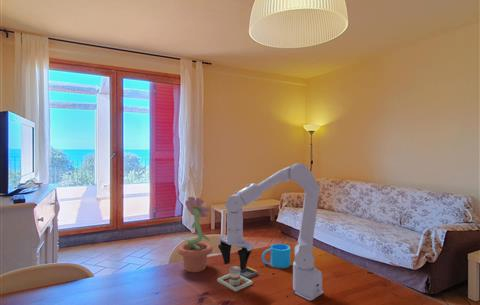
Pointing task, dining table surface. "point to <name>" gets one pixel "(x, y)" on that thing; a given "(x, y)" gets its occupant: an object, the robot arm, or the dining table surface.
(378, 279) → the dining table surface
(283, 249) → the mug
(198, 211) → the decorative flower
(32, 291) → the dining table surface
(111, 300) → the dining table surface
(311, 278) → the robot arm
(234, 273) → the fuse
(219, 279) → the parts tray
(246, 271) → the grey square holder
